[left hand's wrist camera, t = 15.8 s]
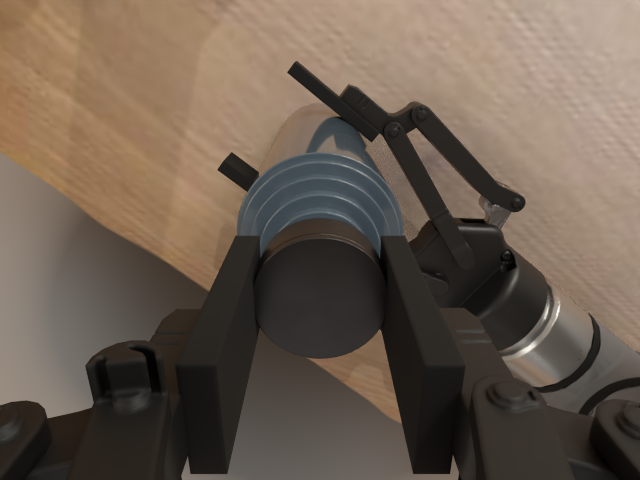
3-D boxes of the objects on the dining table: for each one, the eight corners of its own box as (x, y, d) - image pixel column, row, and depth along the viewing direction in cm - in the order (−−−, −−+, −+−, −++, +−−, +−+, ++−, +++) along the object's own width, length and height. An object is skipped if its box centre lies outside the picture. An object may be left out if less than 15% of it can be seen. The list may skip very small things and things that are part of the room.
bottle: (293, 197, 37) (254, 402, 15) (266, 118, 35) (173, 224, 13) (371, 174, 37) (449, 353, 14) (349, 92, 34) (402, 156, 12)
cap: (406, 256, 14) (416, 280, 13) (339, 346, 16) (341, 378, 14) (298, 193, 14) (294, 211, 12) (237, 293, 15) (227, 321, 13)
